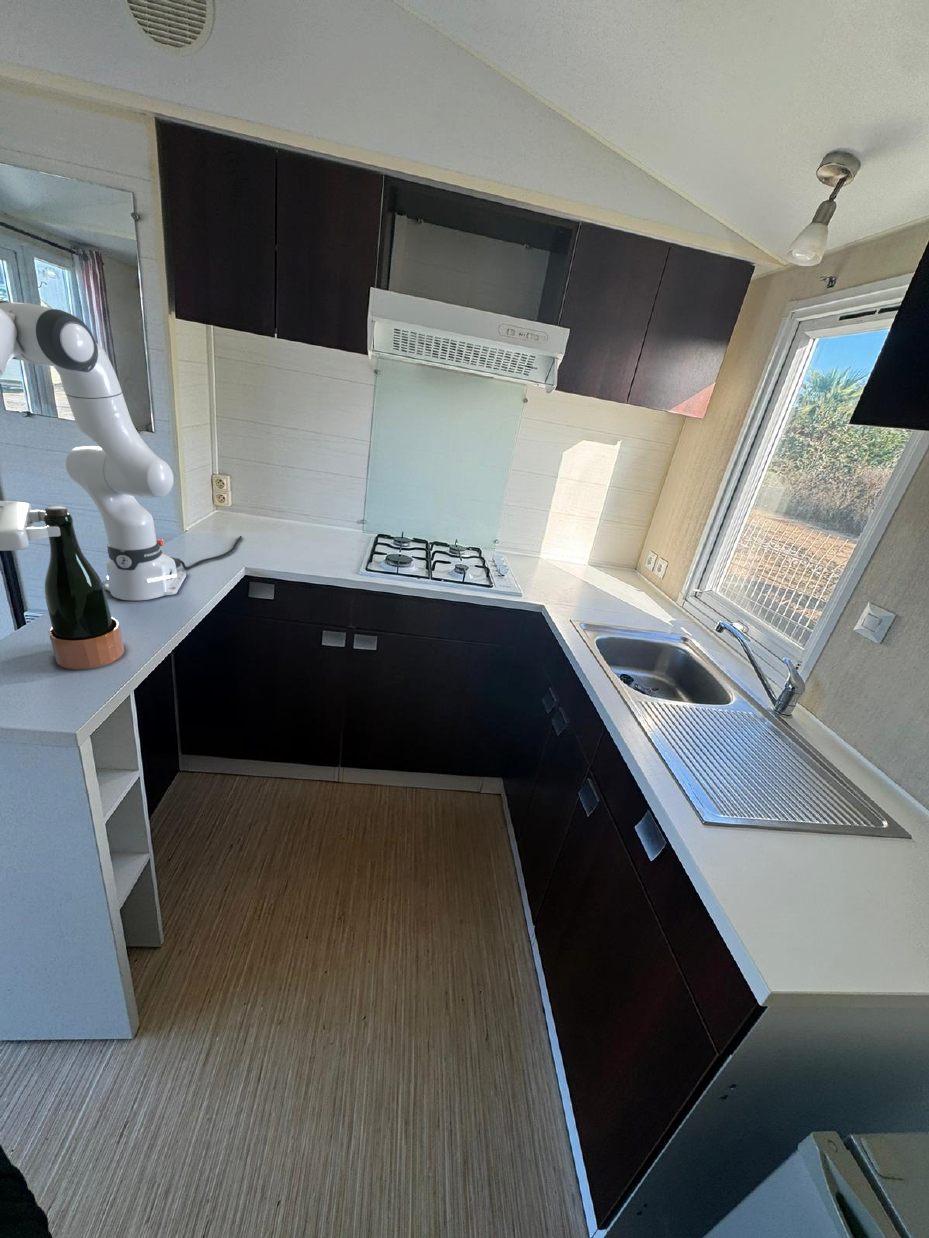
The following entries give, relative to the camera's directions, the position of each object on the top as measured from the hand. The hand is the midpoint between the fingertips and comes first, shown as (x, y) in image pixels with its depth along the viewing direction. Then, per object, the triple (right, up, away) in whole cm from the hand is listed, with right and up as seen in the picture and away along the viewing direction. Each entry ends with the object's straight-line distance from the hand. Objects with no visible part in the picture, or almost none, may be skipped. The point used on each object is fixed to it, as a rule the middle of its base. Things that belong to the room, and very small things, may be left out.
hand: (60, 523), depth 96 cm
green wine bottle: (-4, -27, +13) cm, 30 cm away
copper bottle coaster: (-4, -27, +13) cm, 30 cm away
